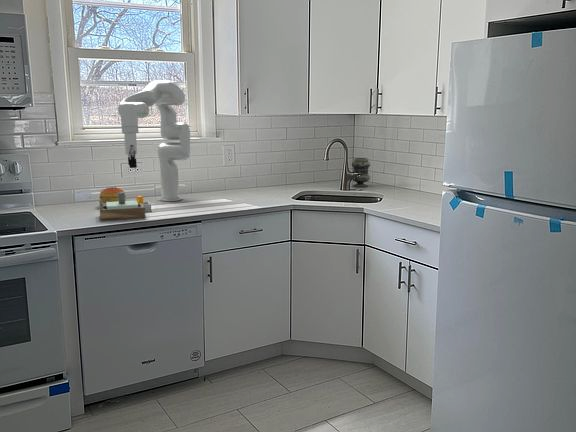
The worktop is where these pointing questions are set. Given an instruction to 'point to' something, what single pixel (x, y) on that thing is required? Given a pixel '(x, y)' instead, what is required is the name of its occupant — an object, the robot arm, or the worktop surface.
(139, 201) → the pipe clamp
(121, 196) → the mint green slab
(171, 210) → the worktop surface
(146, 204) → the clamp corral
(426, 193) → the worktop surface
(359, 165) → the apothecary jar
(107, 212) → the wooden box
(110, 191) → the burger
